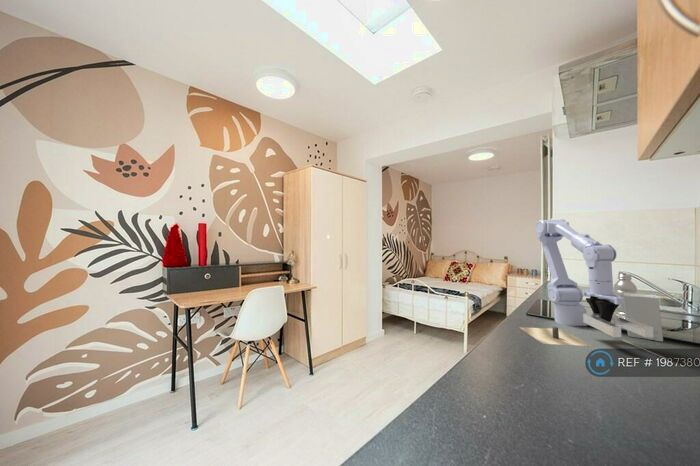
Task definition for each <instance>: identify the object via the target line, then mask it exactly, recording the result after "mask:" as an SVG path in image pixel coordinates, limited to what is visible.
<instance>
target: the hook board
mask: <svg viewBox="0 0 700 466" xmlns="http://www.w3.org/2000/svg"><path fill="white" fill-rule="evenodd" d="M519 329H520V330H522V331H523V332H525V333H526V334H528V335H529V336H531V337H532V338H534V339H535V340H537V341H538V342H540V343H541V344H543V345H558V346H561V345H562V346H578V347H579V346H581V347H593V345H592V344H589V342H586V341H584V340H582V339H580V338H578V337H577V336H574V335H573V334H571V333H569V332H567V331H565V330H563V329H561V328H559V327H557V326H552V327H551V328H550V327H545V328H544V327H519Z"/></svg>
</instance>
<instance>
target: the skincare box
mask: <svg viewBox="0 0 700 466" xmlns="http://www.w3.org/2000/svg"><path fill="white" fill-rule="evenodd" d="M623 296H624V307H625V315H626V317H627V318H629V319H632V320H635V321H637V322H640V323H643V324H645V325H648V326H651V327H653V338H649V337H643V336H641V335H638V334H636V333H634V332H631V331H629V330H627V329H626V332H627V336H628V337H631V338H638V339H645V340H651V341H656V342H664V334H663V329H662V320H661V318H662V316H661V307H660V298H659V297H658V296H657V295H656V294H645V293H637V294H632V293H623Z"/></svg>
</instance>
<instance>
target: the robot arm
mask: <svg viewBox="0 0 700 466" xmlns="http://www.w3.org/2000/svg"><path fill="white" fill-rule="evenodd" d="M534 229H535V233H536V235H537V239H538V241H540V244H541V247H542V250H543V254H544V257H545V259H546V263H547V266H548V269H549V272H550V276H551V279H552V280H551V281H550V282H548V284H547V285H546V286H547V296H548V298H549V300H550V301H551V302H552V303H553V311H554V312H553V314H554V322H555V323H557V324H560V325H562V326H563V325H564V326H570V327H571V326H572V327H575V326H576V327H577V326H581V327H582V326H585V327H587V326H588V324H586V323H584V322H583V314H588V313H587V309H586V308H585V306H584V305H583V304H582V303H581V302H582V301H583V299H584V296H586V298H585V301H586V302H587V303H588V305H589V307H590V308H591V310H592V314H600V317H601V319H603V320H606V321H608V322H611V319H612V316H613V314H615V312H616V311H617V307H618V306H619V304H622V305H624V298H621V297H618V296H616V294H615V293H614V283H613V282H614V280H613V265H612V263H613V262H614V261H615V260H616V259H617V251H616V249H615V247H613V246H612V245H611V244H603V243H600V241H598V240H596V239H594V238H593V237H592V236H590V234H588V233H579V232H577V231H576V229H574V228H572V227H571V226H570V223H569V221H566V219H564V218H561V219H547V220H546V219H540V220H538V221H537V222H536V225H535V228H534ZM563 238H566V239H567V240H569V241H570V244H571V246H573V247H574V248H575V249H577V250H578V251H579V252H580V253H582V257H583V259H584V261H585V265H586V267H588V269H587V270H588V284H589V285H588V286H589V289H582V290H581V288H580V287H579V285H578V283H577V282H576V281H574V280H573V279H571V278H569V275H568V271H567V269H566V267H565V264H564V260H563V257H562V255H561V252H560V248H559V246H558V242H560V241H561V240H562V239H563ZM587 296H588V297H587Z"/></svg>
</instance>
